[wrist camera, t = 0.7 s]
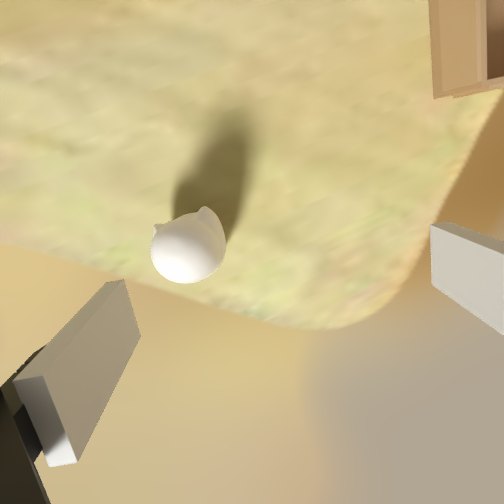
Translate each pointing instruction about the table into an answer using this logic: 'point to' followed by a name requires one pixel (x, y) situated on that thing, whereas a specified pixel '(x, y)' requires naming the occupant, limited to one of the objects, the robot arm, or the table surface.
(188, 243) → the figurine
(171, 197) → the table surface
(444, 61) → the carton
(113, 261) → the table surface
